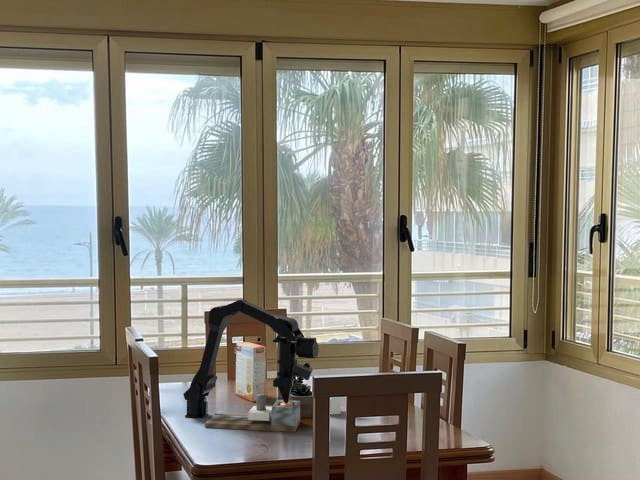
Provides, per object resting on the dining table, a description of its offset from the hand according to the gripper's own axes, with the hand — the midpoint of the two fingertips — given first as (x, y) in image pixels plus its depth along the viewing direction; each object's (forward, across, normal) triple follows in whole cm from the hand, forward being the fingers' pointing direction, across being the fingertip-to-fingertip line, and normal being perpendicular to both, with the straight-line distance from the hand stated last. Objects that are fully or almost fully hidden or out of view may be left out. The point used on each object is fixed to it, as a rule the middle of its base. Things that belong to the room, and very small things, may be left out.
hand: (286, 403), depth 235 cm
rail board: (+8, 0, +11) cm, 13 cm away
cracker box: (+8, +37, +20) cm, 43 cm away
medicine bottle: (+8, +20, -12) cm, 25 cm away
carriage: (+5, 0, +9) cm, 10 cm away
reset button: (+2, 0, 0) cm, 2 cm away
